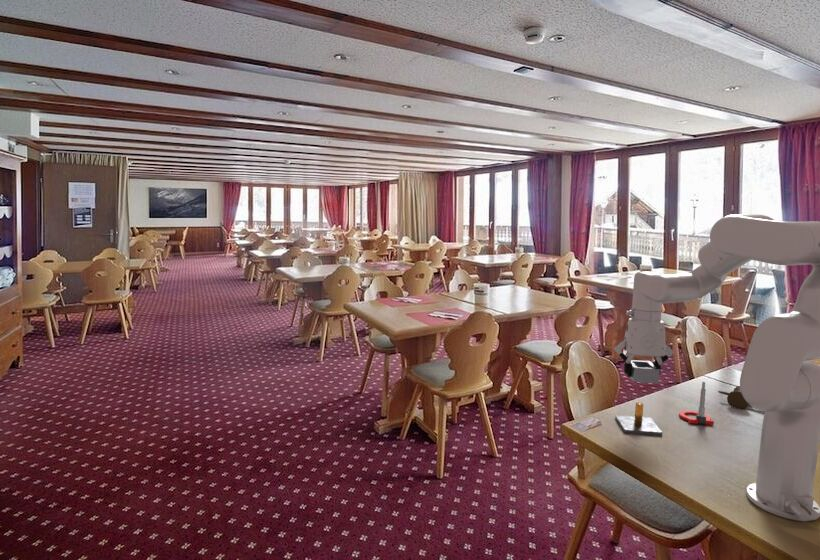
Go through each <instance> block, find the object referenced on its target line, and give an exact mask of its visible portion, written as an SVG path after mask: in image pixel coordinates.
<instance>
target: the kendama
mask: <svg viewBox="0 0 820 560" xmlns="http://www.w3.org/2000/svg"><path fill="white" fill-rule="evenodd" d="M717 392H718V394H721V395H725V396H727V397H726V399H727V401H726V402H727V403H728V405H729V406H730V407H731V408H732V409H733V408H734V409H736V410H746V409H747V408H748V407H749V406H750V404H748V403H747V401H746V400H745V399H744V397H743V395H742V393H741V389H740V385H737V386H735V387H734V388H733V390H732V391H730V392H727V391H721V390H718V391H717Z"/></svg>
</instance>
